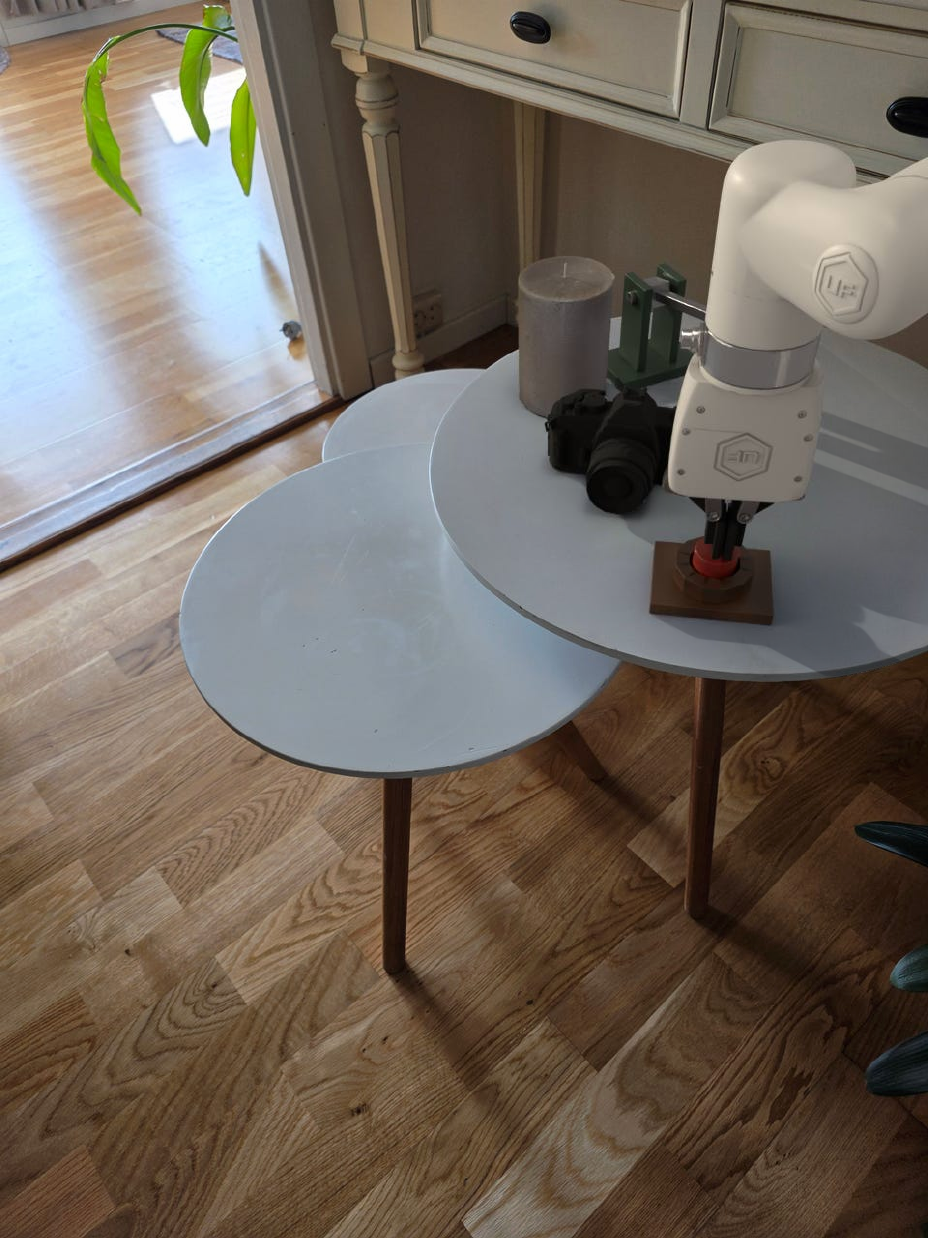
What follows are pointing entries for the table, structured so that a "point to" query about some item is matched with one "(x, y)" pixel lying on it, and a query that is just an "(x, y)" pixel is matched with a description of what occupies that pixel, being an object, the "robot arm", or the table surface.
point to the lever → (673, 299)
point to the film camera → (611, 444)
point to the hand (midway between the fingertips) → (721, 548)
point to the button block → (711, 586)
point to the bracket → (638, 354)
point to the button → (713, 562)
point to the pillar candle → (563, 329)
